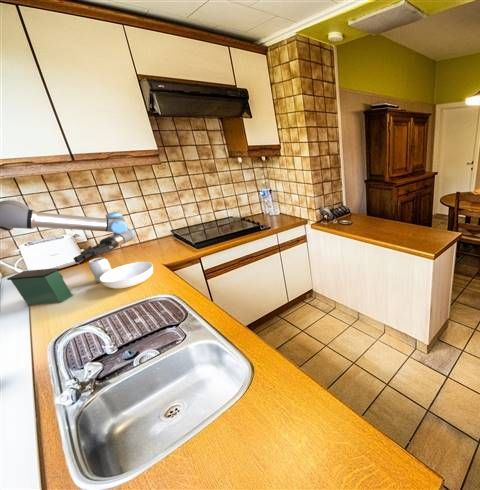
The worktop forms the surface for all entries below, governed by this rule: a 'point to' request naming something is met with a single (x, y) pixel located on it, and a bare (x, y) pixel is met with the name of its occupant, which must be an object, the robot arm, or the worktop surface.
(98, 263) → the can
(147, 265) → the serving bowl
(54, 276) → the box
